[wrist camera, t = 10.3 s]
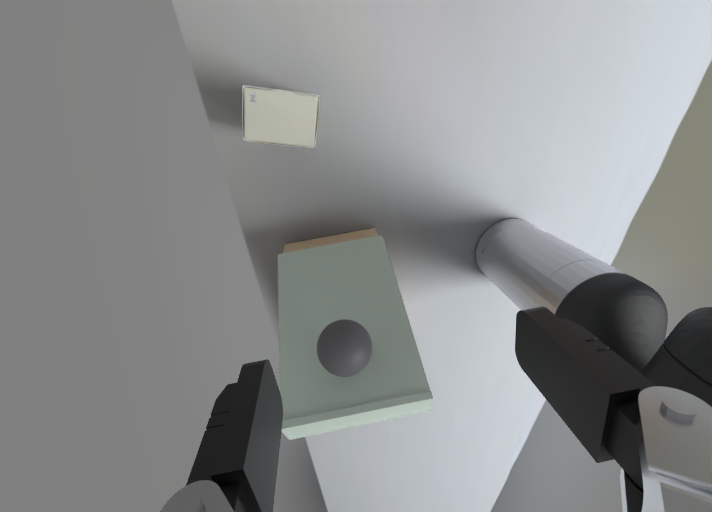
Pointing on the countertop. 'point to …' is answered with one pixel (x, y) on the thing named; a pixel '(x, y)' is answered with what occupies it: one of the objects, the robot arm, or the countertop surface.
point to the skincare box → (279, 116)
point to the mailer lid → (345, 340)
